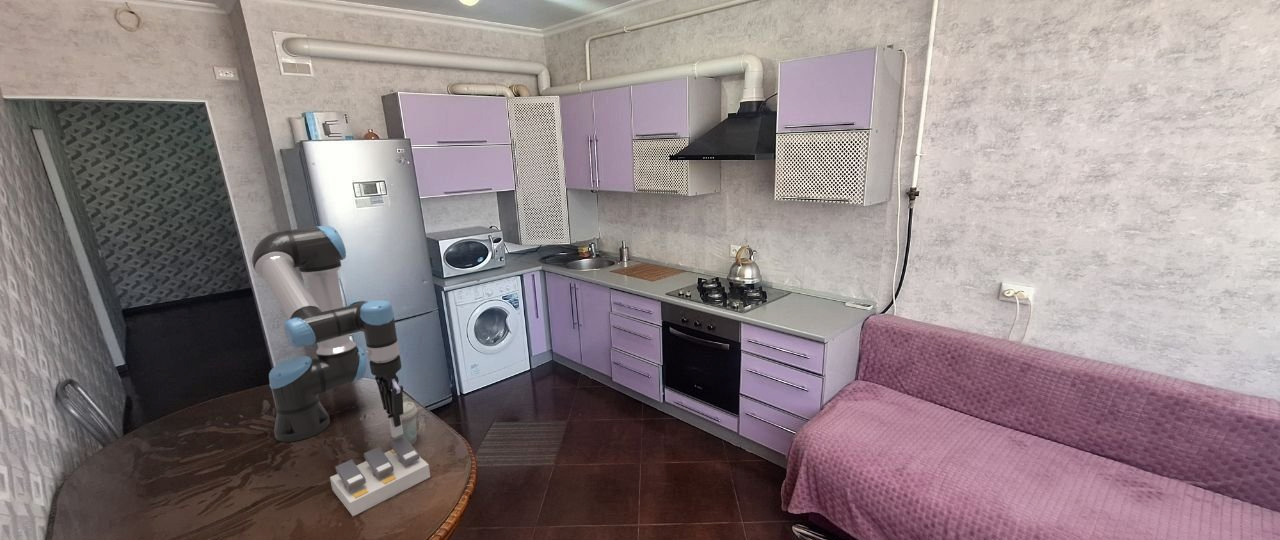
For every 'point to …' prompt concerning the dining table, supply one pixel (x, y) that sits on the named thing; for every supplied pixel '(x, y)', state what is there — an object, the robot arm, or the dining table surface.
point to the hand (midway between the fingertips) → (397, 434)
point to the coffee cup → (408, 422)
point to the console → (380, 483)
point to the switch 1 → (350, 475)
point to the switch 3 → (404, 450)
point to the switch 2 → (378, 462)
